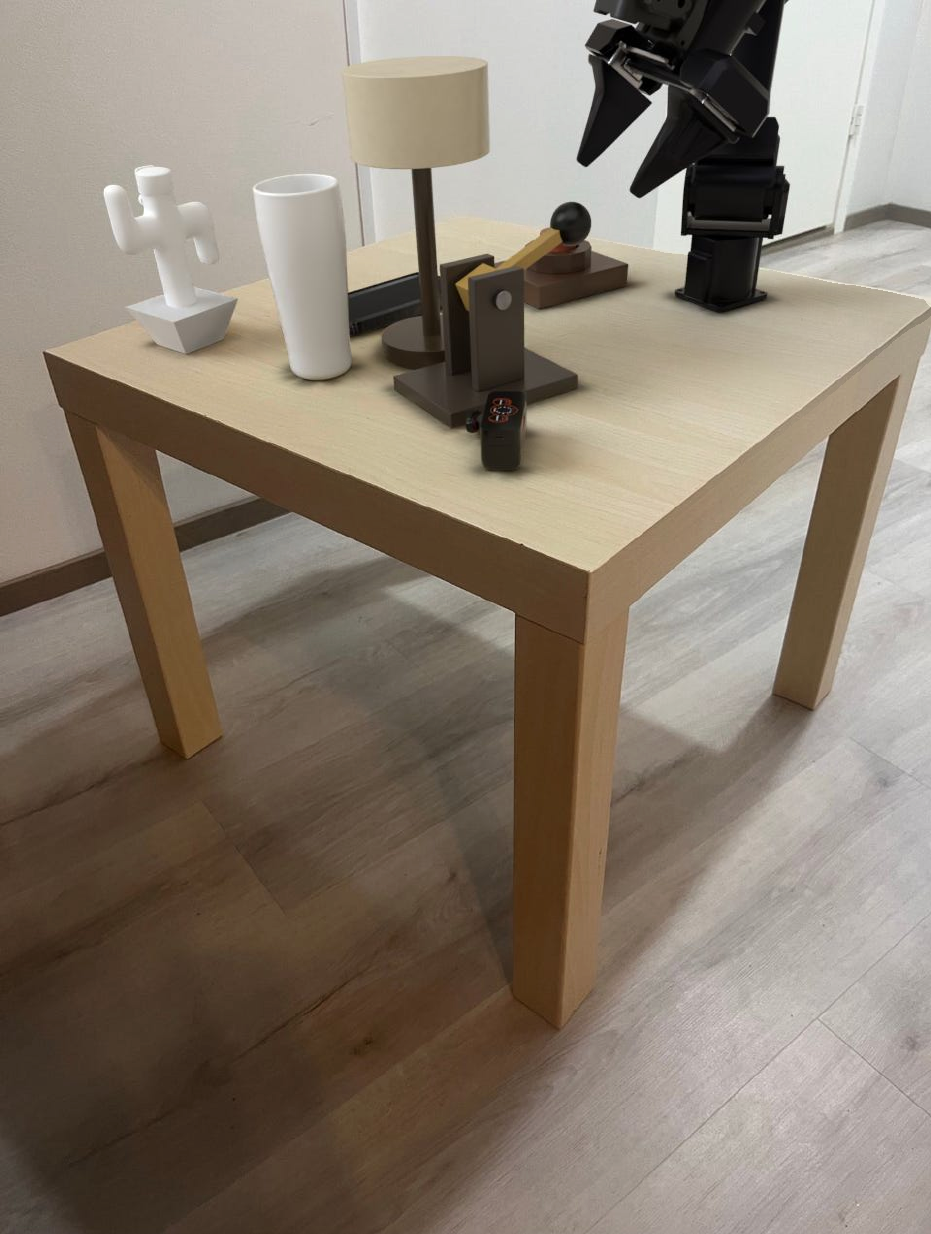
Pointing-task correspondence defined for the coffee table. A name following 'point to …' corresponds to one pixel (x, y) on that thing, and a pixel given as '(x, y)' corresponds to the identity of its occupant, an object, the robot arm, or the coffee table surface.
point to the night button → (559, 247)
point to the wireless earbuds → (501, 429)
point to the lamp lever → (541, 242)
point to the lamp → (418, 160)
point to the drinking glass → (307, 269)
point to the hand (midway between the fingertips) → (606, 179)
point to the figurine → (171, 261)
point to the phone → (385, 303)
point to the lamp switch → (482, 347)
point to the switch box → (571, 276)
